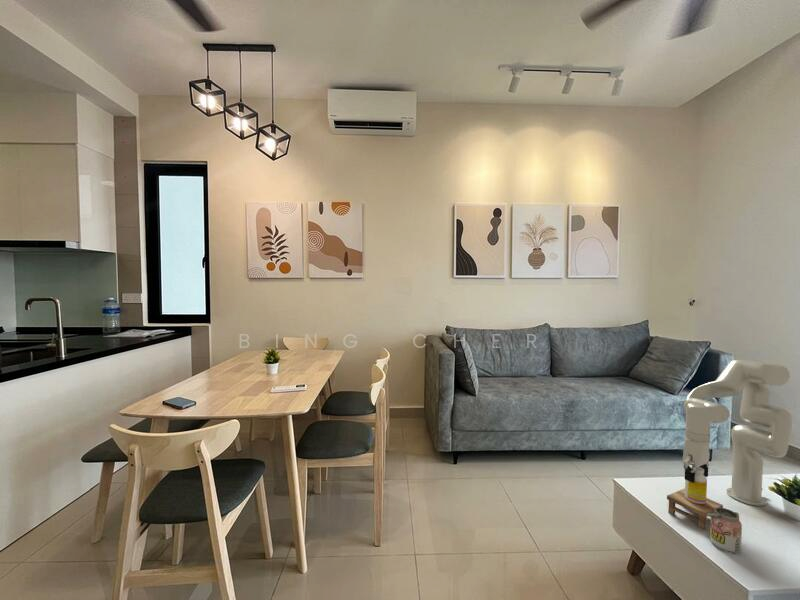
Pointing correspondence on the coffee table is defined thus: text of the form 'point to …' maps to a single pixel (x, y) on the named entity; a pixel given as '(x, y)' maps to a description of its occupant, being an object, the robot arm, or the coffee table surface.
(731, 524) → the pink labeled can
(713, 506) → the footstool
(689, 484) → the supplement bottle
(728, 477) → the coffee table surface
